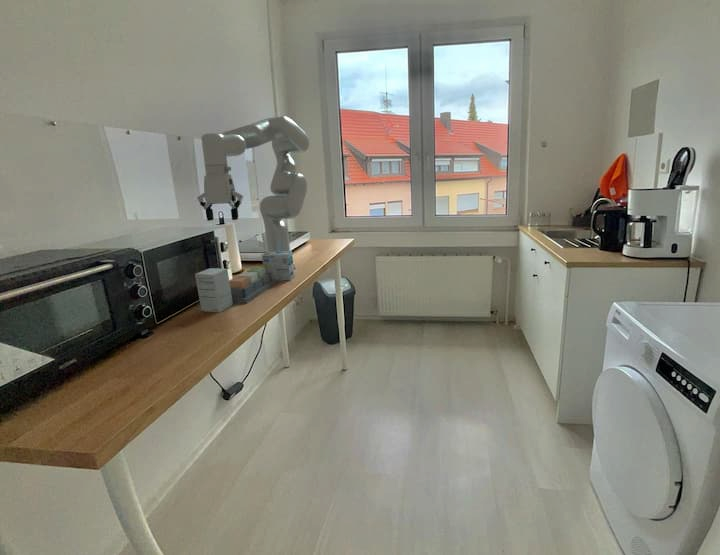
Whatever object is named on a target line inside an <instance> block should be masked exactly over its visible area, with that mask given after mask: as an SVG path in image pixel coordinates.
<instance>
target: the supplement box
mask: <svg viewBox="0 0 720 555" xmlns="http://www.w3.org/2000/svg"><path fill="white" fill-rule="evenodd" d="M228 271H229V270H228V268H218V267H217V268H215V267H213V268H211V267H210V268H206V269H205V270H202V271H199V272H196V273H195V274H194V276H195V282H196V287H197V292H198V297H199V298H198V299H199V304H200V310H201V311H202V312H211V313H221V312H223V311H224V310H226V309H228V308H230V307H232V306H233V305H234V303H233V301H232V295H231V289H230V282H229V280H230V277H229V272H228Z"/></svg>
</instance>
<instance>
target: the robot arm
mask: <svg viewBox="0 0 720 555" xmlns="http://www.w3.org/2000/svg"><path fill="white" fill-rule="evenodd" d="M269 142H271V147H272V150H273V153H274V155H275V158H276V168H275V170H274V174H273V176H272V178H271V183H270V186H269V187H270V192H271V193H272V194H273V195H267V196H265V197H263V198H262V199H261V201H260V204H259V210H260V214H261V218H262V220H263V224H264V225H263V226H264V229H265V230H264V231H265V239H266V247H267V252H279V251H291V247H290V246H291V245H290V238H289V236H290V235H289V229H288V225H287V223H286V222H285V220H287V219H288V220H291V219H296V218H297V217H299V215H300V213H301V211H302V207H303V205H304V201H305V198H306V195H307V191H308V182H307V181H308V180H307V179H306V177H305V175H303V174H302V173H299V172H296V171H297V165H296V162H295V161H294V160H295V159H293V158H292V155H291V154H297V153H304V152H306V151H307V150H308V149H309V147H310V139H309V136H308V134H307V133H306V132H305V131H304V130H303V129H302V128H301V127H300V126H299V125H298V124H297V123H296V122H295V121H293V119H291V118H289V117H288V116H284V115H281V116H276V117H275V116H273V117H267V118H264V119H261V120H259V121H256V122H252V123H250V124H246V125H242V126H240V127H237V128H234V129H229V130H226V131H224V132H220V133H215V132H214V133H213V132H212V133H204V134H203V135H201V147H202V154H203V160H204V161H203V162H204V169H205V175H204V176H203V177H204V178H203V191H204V192H202V193H201V194H200V195H199V196H197V197H196V198H197V201H198V202H199V204H200V205H201V207H202V208H203V209H204V211H205V215H206V219H207V220H206V221H208V222H210V221H213V220H214V218H215V217H214V211H213V209H212V207H213V205H214V204H215V205H219V204H221V205H222V204H228V205H229V206H230V207H231V209H230V212H231V213H230V215H231V220H232V221H236V220H239V209H238V208H239V207H240V206H241V204H242V201H243V198H244V195H242V194H241V193H239V192H238V191H237V192H236V189H235V183H234V181H233V177H232V174H229V171H232V168H231V166H229V165H228V160H227V158H228V157H235V156H236V157H238V156H241V155H242V154H244V153H245V151H246V150H248V149H253V148H257V147H260V146H262V145H264V144H267V143H269ZM293 265H294V270H295V269H296V264H295V263H293Z"/></svg>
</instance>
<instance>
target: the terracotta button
mask: <svg viewBox="0 0 720 555" xmlns="http://www.w3.org/2000/svg"><path fill="white" fill-rule="evenodd" d="M229 282H230V288H242V289H243V288H244V287H246V286H248V285H249V279H248V277H238V276H235V277H233V278H230V279H229Z"/></svg>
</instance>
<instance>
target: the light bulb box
mask: <svg viewBox="0 0 720 555" xmlns="http://www.w3.org/2000/svg"><path fill="white" fill-rule="evenodd" d="M261 259H262V266H263V267H262V268H265V270H266V273H271V278H272V279H276V282H277V281H279V282H281V281H286V282H287V281H292V280H293V278H294V277H295V276H296V275H295V269H294V265H293V264H294V257H293V250H290V251H279V252H268V251H266V252H264V253H263V254H261Z"/></svg>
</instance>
